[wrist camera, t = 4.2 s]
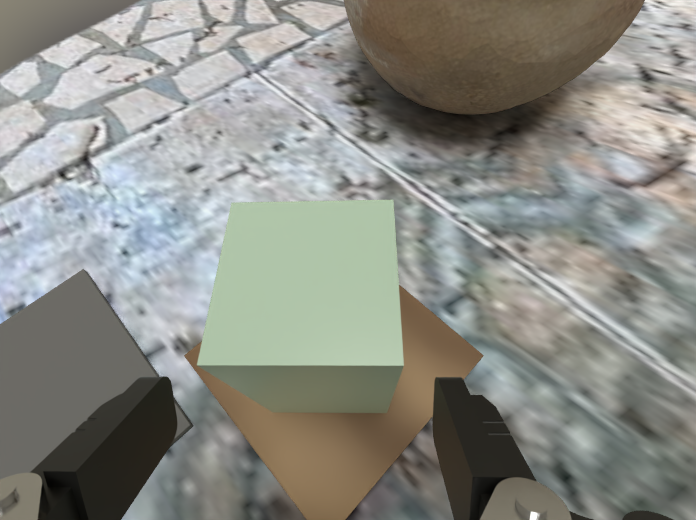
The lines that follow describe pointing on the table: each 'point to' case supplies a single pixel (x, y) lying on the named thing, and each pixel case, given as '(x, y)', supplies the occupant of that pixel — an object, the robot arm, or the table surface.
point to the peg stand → (349, 421)
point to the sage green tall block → (307, 306)
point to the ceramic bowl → (485, 47)
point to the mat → (62, 370)
